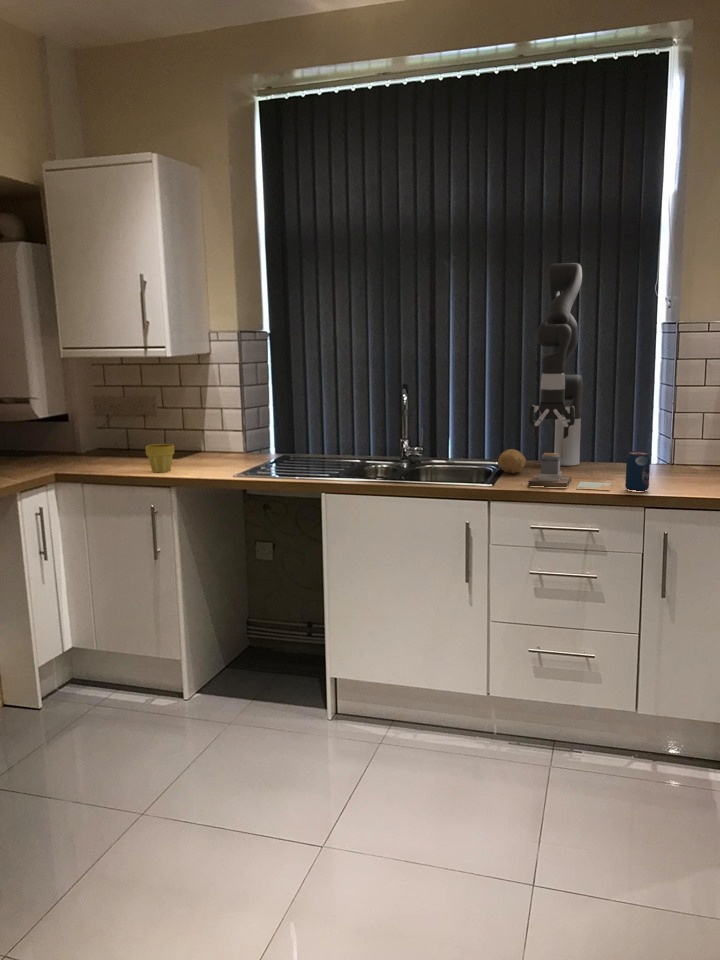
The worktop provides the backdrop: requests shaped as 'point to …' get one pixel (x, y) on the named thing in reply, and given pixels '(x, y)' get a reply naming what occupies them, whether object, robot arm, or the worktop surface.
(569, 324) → the robot arm
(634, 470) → the soda can
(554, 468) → the cap
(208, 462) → the worktop surface
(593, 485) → the mat
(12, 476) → the worktop surface
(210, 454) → the worktop surface
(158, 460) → the plant pot
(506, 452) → the potato
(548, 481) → the post stand
